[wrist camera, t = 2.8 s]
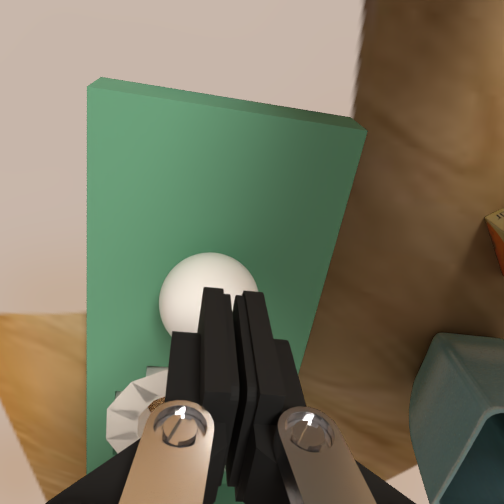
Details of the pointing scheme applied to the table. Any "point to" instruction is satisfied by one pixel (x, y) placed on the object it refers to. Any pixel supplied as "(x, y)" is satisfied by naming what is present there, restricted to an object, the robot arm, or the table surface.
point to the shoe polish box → (497, 234)
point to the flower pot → (460, 420)
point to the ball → (199, 288)
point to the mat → (199, 228)
